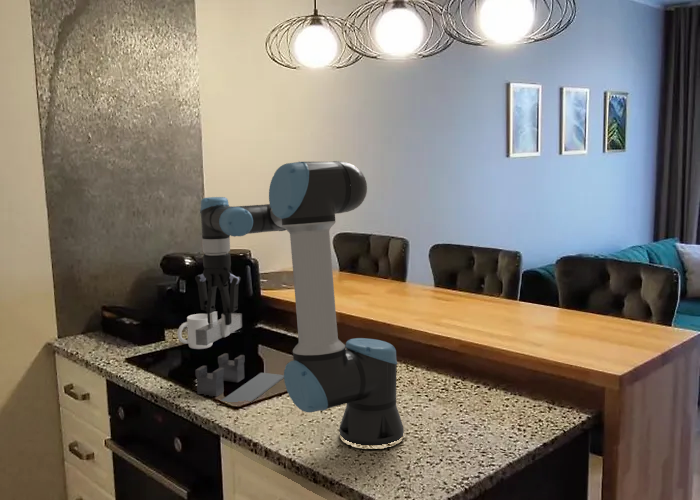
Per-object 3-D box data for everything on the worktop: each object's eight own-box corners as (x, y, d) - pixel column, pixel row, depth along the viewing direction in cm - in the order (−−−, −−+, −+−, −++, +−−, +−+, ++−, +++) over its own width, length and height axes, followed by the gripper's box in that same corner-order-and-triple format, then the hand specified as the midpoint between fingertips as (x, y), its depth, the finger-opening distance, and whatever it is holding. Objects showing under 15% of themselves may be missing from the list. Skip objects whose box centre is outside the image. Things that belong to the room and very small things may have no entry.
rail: (206, 345, 184) (205, 330, 184) (196, 344, 185) (195, 329, 185) (242, 327, 203) (241, 313, 202) (232, 326, 204) (232, 312, 203)
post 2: (238, 382, 199) (237, 359, 198) (218, 380, 201) (217, 357, 200) (245, 378, 203) (244, 355, 202) (225, 375, 205) (224, 353, 204)
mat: (243, 408, 180) (243, 407, 180) (216, 404, 182) (216, 403, 182) (285, 376, 204) (285, 375, 204) (261, 373, 207) (261, 372, 207)
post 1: (217, 397, 188) (216, 372, 187) (196, 394, 190) (195, 369, 189) (224, 392, 192) (223, 367, 191) (204, 389, 194) (203, 365, 193)
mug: (182, 352, 228) (180, 322, 226) (174, 346, 235) (172, 317, 233) (216, 346, 234) (215, 317, 233) (208, 341, 241) (206, 312, 240)
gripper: (248, 252, 191) (251, 334, 195) (198, 250, 197) (202, 330, 200) (235, 256, 184) (239, 341, 188) (184, 254, 190) (188, 336, 193)
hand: (220, 335), depth 194 cm, fingers closed on rail, 3 cm apart
